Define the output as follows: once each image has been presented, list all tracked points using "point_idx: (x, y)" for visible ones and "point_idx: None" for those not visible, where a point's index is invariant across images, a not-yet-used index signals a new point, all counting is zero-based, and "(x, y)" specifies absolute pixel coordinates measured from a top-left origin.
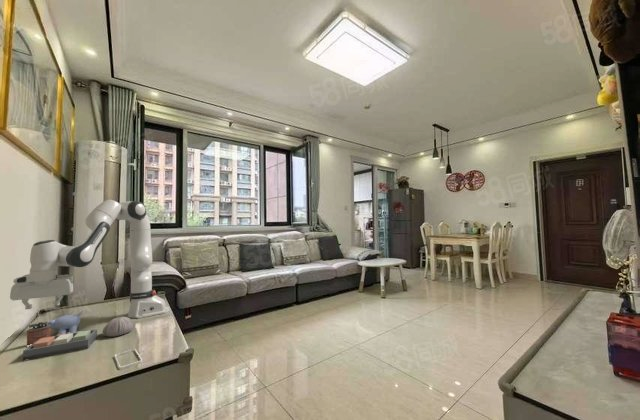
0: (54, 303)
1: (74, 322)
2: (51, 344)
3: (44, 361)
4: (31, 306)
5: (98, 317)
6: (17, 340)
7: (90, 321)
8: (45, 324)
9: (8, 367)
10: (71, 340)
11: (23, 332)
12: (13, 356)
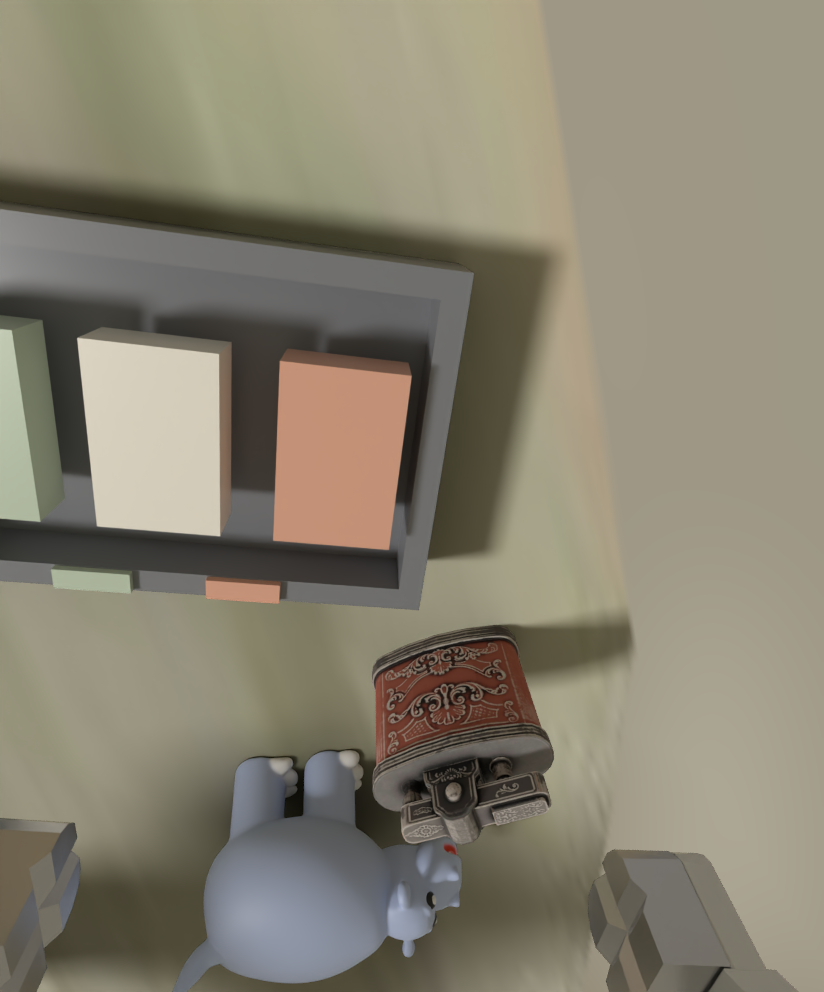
0: (8, 899)
1: (232, 856)
2: None
3: (242, 59)
4: (606, 951)
5: None
6: (597, 805)
7: None
8: (415, 800)
9: (540, 145)
10: None
11: None
12: (558, 460)
